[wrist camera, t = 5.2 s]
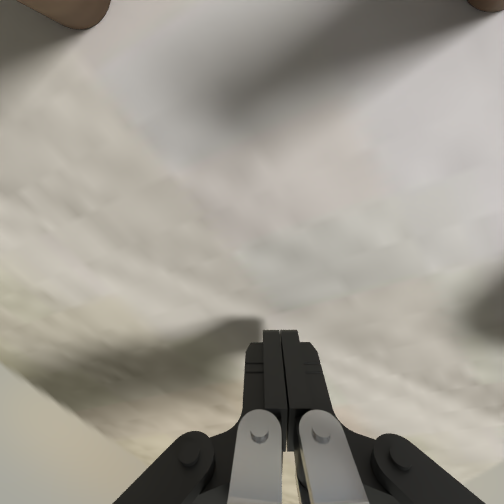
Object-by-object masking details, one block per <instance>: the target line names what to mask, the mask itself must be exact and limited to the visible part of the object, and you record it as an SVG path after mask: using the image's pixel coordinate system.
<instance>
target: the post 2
mask: <svg viewBox="0 0 504 504" xmlns="http://www.w3.org/2000/svg"><path fill="white" fill-rule="evenodd" d="M467 1H468V2H469V3H470V4H471V5H472V6H473V7H475V8H476V9H479V10H481V11H485V12H495V11H500V10H504V0H467Z"/></svg>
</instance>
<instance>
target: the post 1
mask: <svg viewBox="0 0 504 504" xmlns="http://www.w3.org/2000/svg"><path fill="white" fill-rule="evenodd" d="M17 1H19V2H20V3H22V4H24V5H26V6H28V7H30V8H32V9H33V10H35V11H37V12H39V13H41V14H43V15H45V16H47V17H48V18H50V19H52V20H54V21H56V22H58V23H60V24H61V25H63V26H66V27H69V28H72V29H87V28H90V27H92V26H94V25H96V24H97V23H98V22H99V21H100V20H101V19H102V18H103V17H104V15H105V14H106V12H107V10H108V8H109V5H110V1H111V0H17Z"/></svg>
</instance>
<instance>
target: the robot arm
mask: <svg viewBox="0 0 504 504" xmlns="http://www.w3.org/2000/svg"><path fill="white" fill-rule="evenodd" d="M286 441H287V451H294V455H295V464H296V471H295V479H296V486H297V491H298V497H299V503H300V504H485V503H484V502H483V501H481V500H480V499H479V498H478V497H477V496H475V495H474V494H473V493H472V492H470V491H469V490H468V489H467V488H466V487H464V486H463V485H462V484H461V483H460V482H458V481H457V480H456V479H455V478H453V477H452V476H451V475H450V474H449V473H447V472H446V471H445V470H444V469H443V468H441V467H440V466H439V465H438V464H436V463H435V462H434V461H433V460H432V459H430V458H429V457H428V456H427V455H426V454H424V453H423V452H422V451H421V450H419V449H418V448H417V447H416V446H415V445H413V444H412V443H411V442H410V441H408V440H407V439H405V438H403V437H401V436H399V435H396V434H383V435H381V436H379V437H378V438H377V439H376V440H374V439H372V438H369V437H366V436H363V435H360V434H357V433H355V432H353V431H351V430H349V429H348V428H346V427H345V426H344V425H343V424H342V423H341V422H340V421H339V420H338V419H337V417H336V416H335V414H334V411H333V409H332V405H331V401H330V397H329V394H328V390H327V386H326V382H325V379H324V375H323V371H322V367H321V365H320V360H319V356H318V352H317V351H316V349H315V348H314V347H313V345H312V344H311V343H310V342H300V341H299V336H298V331H297V330H280V332H279V330H263V342H260V343H251V344H250V345H249V347H248V349H247V351H246V357H245V374H244V392H243V409H242V414H241V417H240V419H239V420H238V422H237V423H236V424H235V426H233V427H232V428H231V429H230V430H228V431H226V432H224V433H221V434H219V435H216V436H213V437H210V438H209V437H208V436H207V435H206V434H204V433H202V432H199V431H191V432H187V433H185V434H183V435H181V436H180V437H179V438H177V439H176V440H175V441H174V442H173V443H172V444H171V445H170V446H169V447H168V448H167V449H166V450H165V451H164V452H163V453H162V454H161V455H160V456H159V457H158V458H157V459H156V460H155V461H154V462H153V463H152V464H151V465H150V466H149V467H148V468H147V469H146V471H144V472H143V474H142V475H141V476H140V477H139V478H138V479H137V480H136V481H135V482H134V483H133V484H132V485H131V486H130V487H129V488H128V489H127V490H126V491H125V492H124V493H123V494H122V495H121V496H120V497H119V498H118V499H117V500H116V501H115V502H114V503H113V504H282V463H283V452H286Z"/></svg>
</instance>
